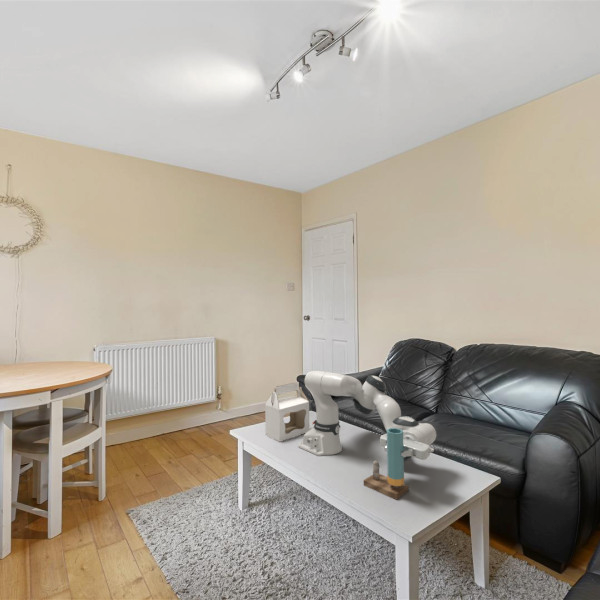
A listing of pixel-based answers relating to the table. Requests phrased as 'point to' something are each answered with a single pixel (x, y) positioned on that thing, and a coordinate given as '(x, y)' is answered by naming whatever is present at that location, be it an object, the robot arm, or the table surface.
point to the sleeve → (395, 457)
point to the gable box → (278, 409)
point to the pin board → (384, 484)
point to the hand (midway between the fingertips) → (393, 452)
